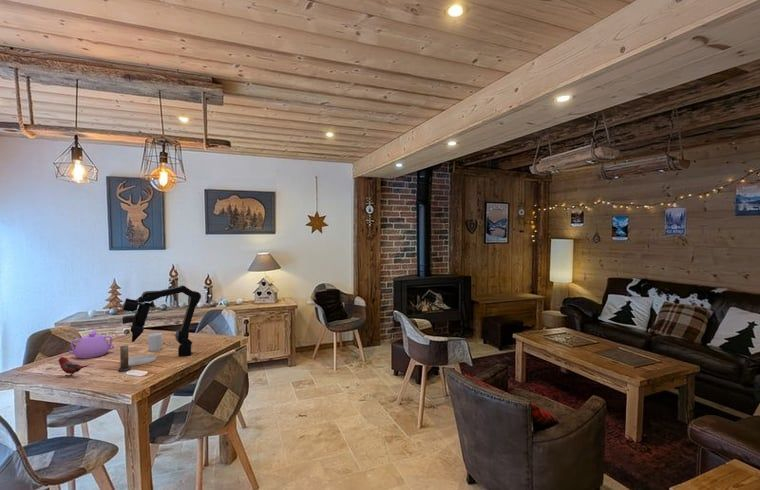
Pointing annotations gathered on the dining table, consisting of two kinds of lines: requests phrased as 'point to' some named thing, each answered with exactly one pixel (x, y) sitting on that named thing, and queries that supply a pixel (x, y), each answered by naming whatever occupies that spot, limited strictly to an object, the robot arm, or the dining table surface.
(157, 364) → the dining table surface
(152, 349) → the white cup
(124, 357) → the brown tapered knob
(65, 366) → the decorative bird figurine
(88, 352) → the teapot
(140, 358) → the white smooth round part
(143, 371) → the dining table surface
